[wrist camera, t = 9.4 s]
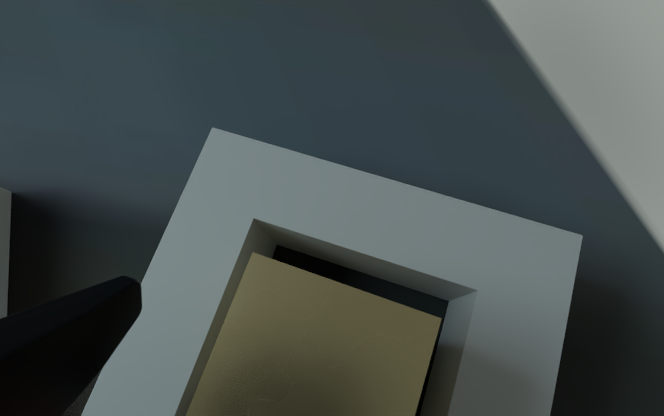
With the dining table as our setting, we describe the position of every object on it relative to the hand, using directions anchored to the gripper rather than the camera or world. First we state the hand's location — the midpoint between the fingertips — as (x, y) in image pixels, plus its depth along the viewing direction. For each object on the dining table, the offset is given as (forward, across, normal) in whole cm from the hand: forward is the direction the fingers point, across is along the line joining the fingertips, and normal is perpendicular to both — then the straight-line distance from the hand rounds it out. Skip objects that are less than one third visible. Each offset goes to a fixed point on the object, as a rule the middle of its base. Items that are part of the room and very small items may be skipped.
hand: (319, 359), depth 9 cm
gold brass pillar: (+4, 0, +5) cm, 7 cm away
